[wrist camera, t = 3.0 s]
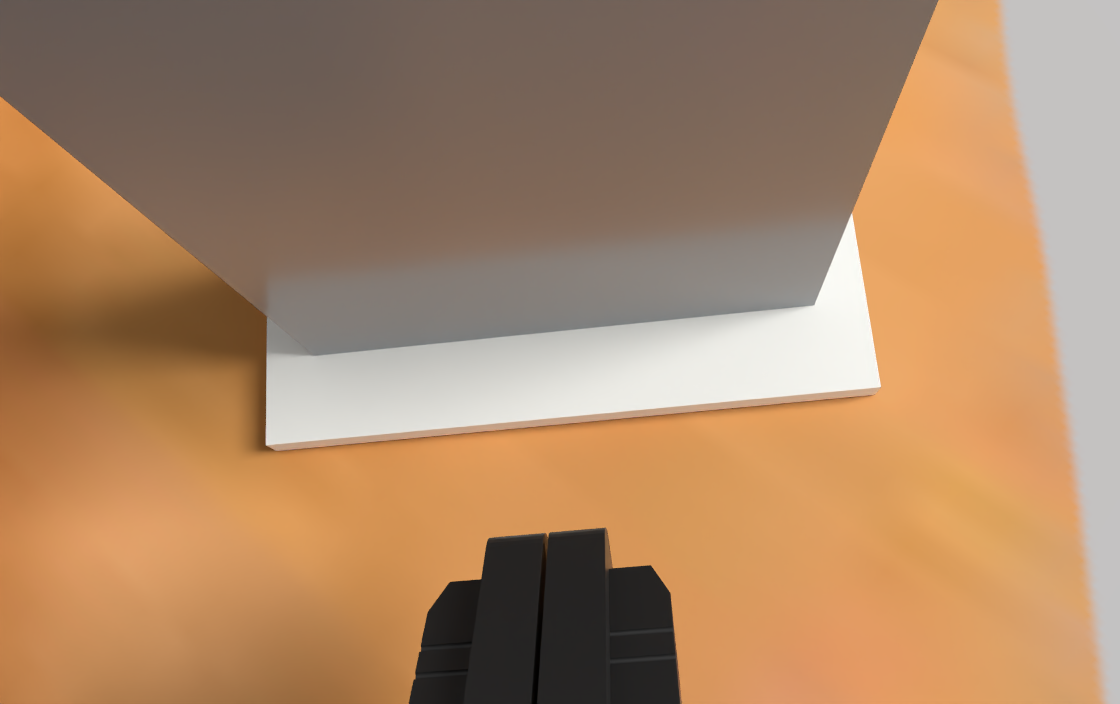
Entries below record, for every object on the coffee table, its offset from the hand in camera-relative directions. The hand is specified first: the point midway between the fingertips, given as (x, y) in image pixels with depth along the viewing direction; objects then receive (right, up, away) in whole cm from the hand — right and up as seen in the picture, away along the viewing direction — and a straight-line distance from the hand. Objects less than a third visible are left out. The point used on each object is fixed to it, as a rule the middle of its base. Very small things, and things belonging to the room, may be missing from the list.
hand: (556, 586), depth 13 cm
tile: (0, +5, +8) cm, 9 cm away
